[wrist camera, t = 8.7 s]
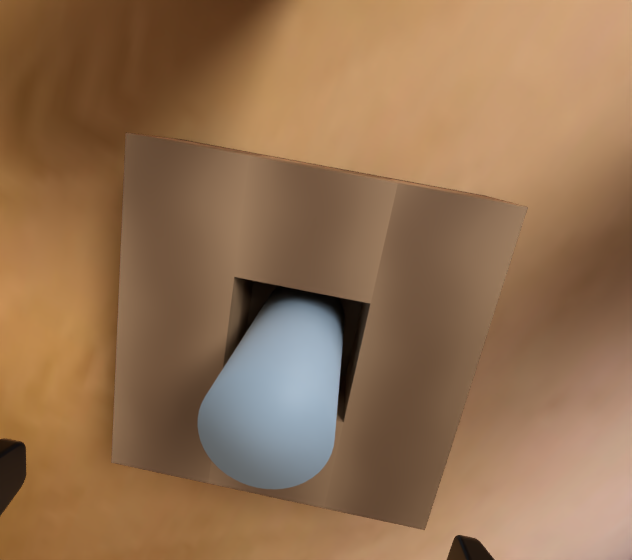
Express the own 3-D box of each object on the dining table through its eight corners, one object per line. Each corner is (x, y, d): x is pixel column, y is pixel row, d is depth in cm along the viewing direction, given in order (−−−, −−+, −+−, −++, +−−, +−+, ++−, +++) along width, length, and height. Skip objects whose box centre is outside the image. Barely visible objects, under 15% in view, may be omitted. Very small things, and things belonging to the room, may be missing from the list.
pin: (336, 362, 19) (321, 501, 11) (258, 346, 19) (192, 474, 11) (351, 287, 18) (346, 385, 10) (269, 271, 18) (203, 356, 10)
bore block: (484, 195, 17) (528, 207, 13) (410, 454, 21) (424, 530, 17) (181, 139, 18) (125, 132, 14) (160, 402, 22) (111, 462, 17)
